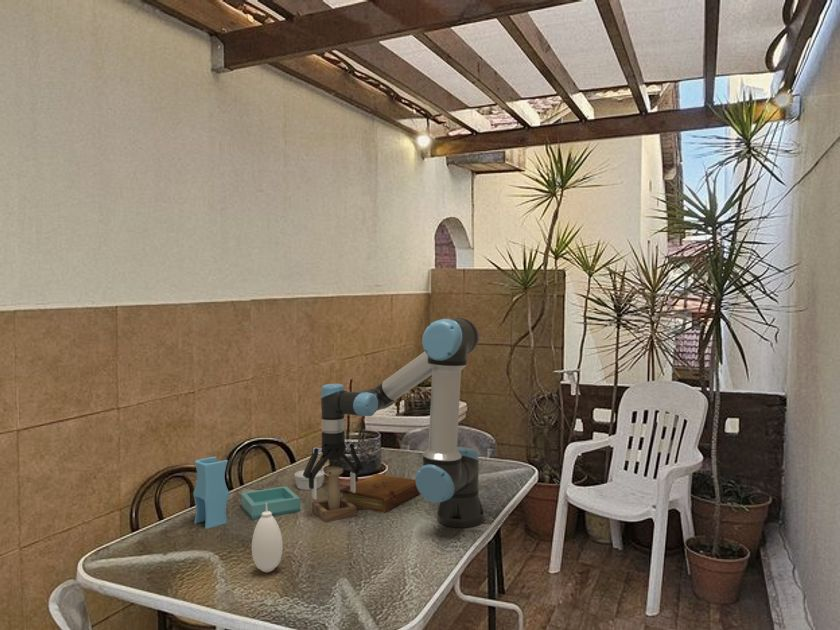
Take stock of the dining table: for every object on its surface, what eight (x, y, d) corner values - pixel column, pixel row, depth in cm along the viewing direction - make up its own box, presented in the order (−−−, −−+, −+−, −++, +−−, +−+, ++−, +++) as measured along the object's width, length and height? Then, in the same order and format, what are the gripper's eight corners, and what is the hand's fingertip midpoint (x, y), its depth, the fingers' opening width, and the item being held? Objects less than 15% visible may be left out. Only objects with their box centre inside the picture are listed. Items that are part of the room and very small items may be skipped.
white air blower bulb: (284, 575, 160) (282, 505, 160) (252, 579, 158) (251, 508, 158) (281, 563, 168) (280, 496, 167) (251, 566, 165) (250, 499, 165)
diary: (385, 515, 207) (384, 497, 207) (340, 506, 216) (340, 489, 216) (420, 495, 227) (420, 479, 226) (377, 488, 236) (377, 473, 236)
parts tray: (300, 511, 209) (300, 498, 209) (252, 519, 202) (252, 506, 201) (286, 498, 223) (286, 486, 223) (241, 506, 216) (240, 493, 216)
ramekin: (330, 485, 240) (330, 471, 239) (310, 492, 230) (310, 478, 230) (308, 481, 246) (308, 467, 245) (288, 488, 236) (288, 474, 236)
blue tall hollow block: (229, 522, 200) (228, 460, 199) (206, 529, 194) (205, 465, 193) (216, 516, 205) (215, 456, 204) (193, 523, 199) (192, 460, 199)
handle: (339, 517, 203) (338, 471, 203) (322, 515, 205) (321, 469, 205) (346, 512, 208) (345, 467, 207) (329, 510, 210) (328, 466, 210)
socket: (356, 516, 204) (356, 507, 204) (324, 522, 199) (324, 512, 199) (343, 505, 214) (342, 497, 214) (312, 511, 209) (312, 502, 209)
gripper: (363, 425, 215) (364, 486, 216) (292, 433, 203) (293, 497, 204) (372, 428, 209) (373, 491, 209) (300, 437, 197) (300, 504, 197)
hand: (333, 495), depth 206 cm, fingers open, 13 cm apart
